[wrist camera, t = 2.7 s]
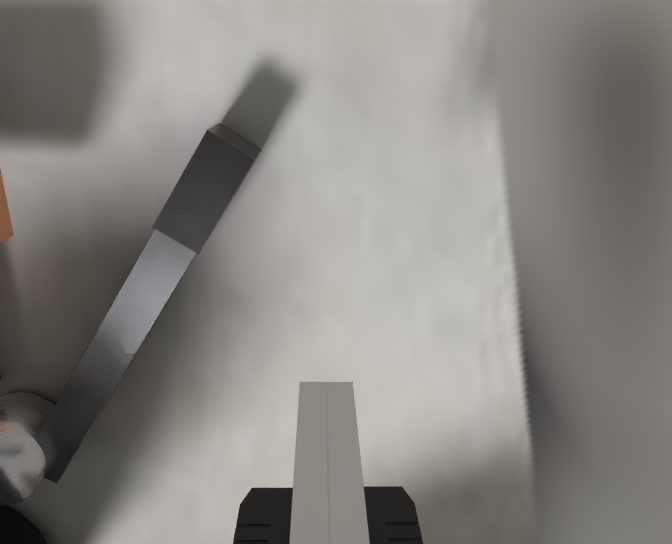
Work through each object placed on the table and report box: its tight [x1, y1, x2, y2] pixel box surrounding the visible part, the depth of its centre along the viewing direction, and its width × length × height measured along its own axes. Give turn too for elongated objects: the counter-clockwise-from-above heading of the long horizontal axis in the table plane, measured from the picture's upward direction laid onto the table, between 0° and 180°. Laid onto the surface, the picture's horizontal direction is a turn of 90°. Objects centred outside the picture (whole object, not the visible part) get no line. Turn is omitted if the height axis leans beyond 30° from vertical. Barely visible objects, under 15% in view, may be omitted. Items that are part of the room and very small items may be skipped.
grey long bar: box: [0, 123, 261, 506], centre depth 23 cm, size 20×5×3 cm, turn 146°
